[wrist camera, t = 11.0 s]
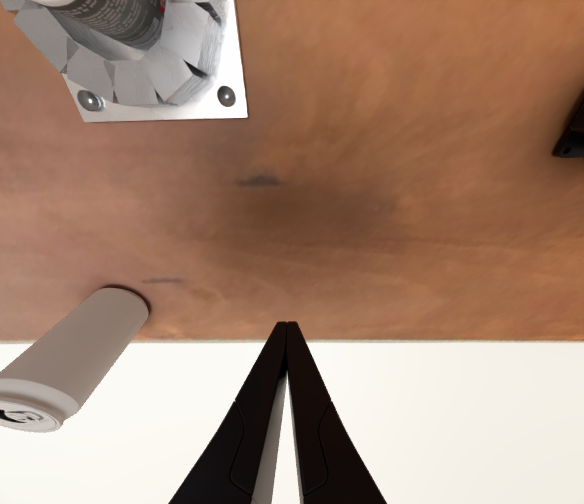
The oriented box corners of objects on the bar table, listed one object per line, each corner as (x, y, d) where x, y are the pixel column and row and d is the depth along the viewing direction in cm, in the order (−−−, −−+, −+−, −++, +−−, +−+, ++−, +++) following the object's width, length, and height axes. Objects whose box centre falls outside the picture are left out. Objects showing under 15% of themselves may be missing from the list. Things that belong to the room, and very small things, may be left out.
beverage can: (85, 285, 24) (-65, 401, 14) (137, 281, 24) (21, 398, 14) (115, 321, 28) (11, 437, 18) (161, 318, 27) (81, 435, 17)
